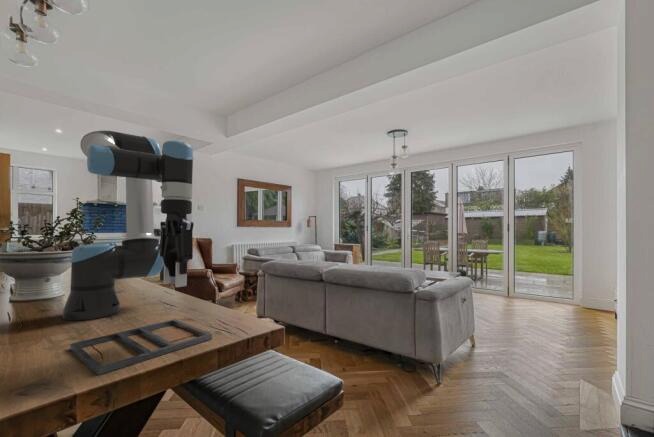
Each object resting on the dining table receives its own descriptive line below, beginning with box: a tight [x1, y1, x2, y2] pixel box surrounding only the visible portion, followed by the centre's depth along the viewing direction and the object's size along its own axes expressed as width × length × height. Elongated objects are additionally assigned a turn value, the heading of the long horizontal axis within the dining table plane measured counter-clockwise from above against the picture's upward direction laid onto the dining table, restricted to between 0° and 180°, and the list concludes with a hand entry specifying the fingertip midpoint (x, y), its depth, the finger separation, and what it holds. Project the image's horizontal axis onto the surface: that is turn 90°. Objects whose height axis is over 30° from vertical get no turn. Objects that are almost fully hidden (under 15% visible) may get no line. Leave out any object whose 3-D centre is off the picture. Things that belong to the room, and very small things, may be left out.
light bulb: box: [163, 248, 178, 287], centre depth 83 cm, size 6×6×10 cm
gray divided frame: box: [69, 318, 213, 376], centre depth 77 cm, size 20×25×1 cm
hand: (174, 284), depth 83 cm, fingers closed on light bulb, 6 cm apart
